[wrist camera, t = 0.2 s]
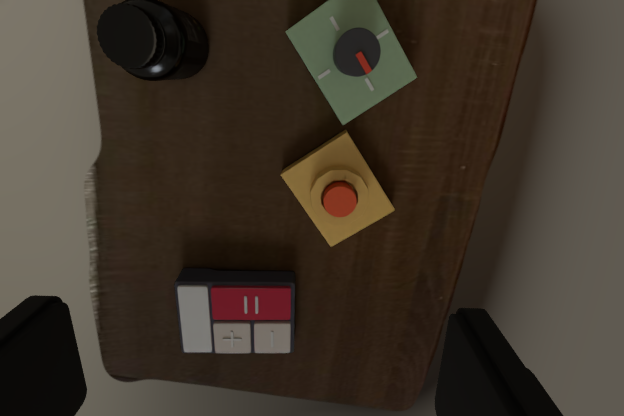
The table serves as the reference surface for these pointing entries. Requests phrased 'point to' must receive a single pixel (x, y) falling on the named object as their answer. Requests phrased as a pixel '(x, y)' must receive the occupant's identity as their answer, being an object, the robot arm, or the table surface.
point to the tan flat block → (329, 169)
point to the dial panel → (319, 60)
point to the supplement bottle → (153, 40)
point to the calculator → (235, 311)
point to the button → (339, 199)
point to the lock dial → (356, 52)
